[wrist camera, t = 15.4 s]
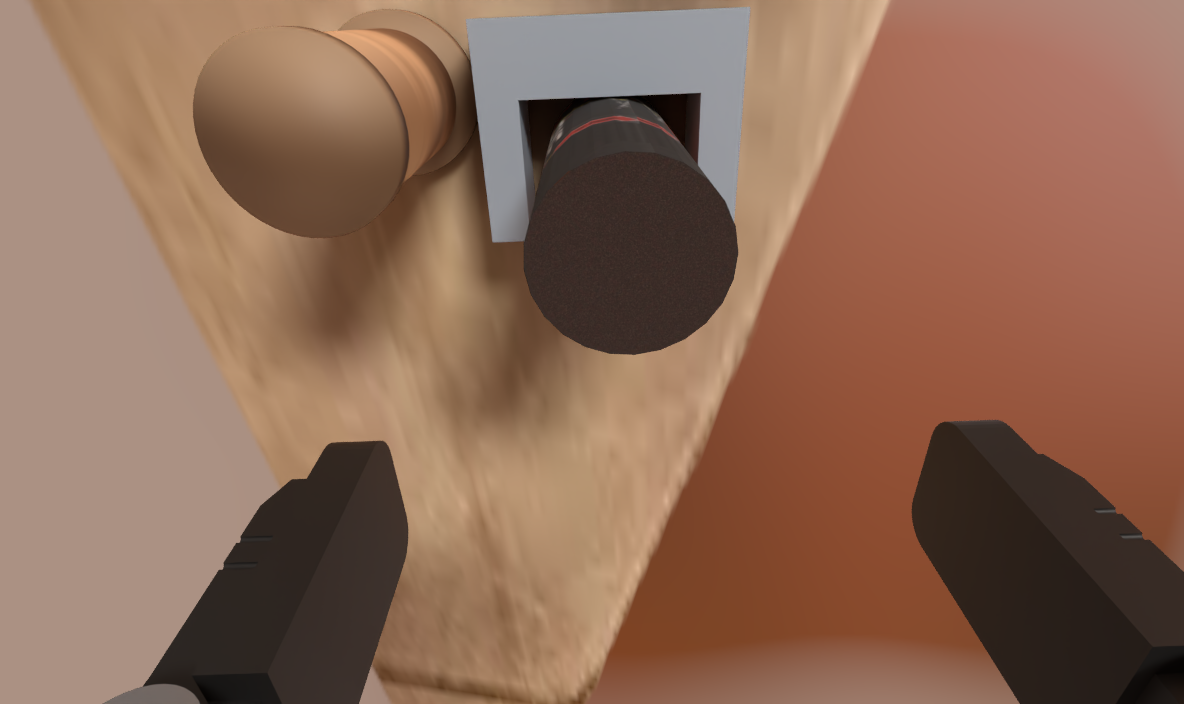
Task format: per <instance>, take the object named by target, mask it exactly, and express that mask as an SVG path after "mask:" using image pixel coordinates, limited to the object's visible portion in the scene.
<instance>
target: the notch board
mask: <svg viewBox="0 0 1184 704" xmlns="http://www.w3.org/2000/svg"><path fill="white" fill-rule="evenodd" d="M749 18H750V7H737V8H714V9H690V10H667V11H643V12H620V13H596V14H573V15H549V16H526V17H502V18H479V19H466V25H467V33H468V41H469V50H470V58H471V66H472V75H473V83H474V91H475V100H476V108H477V116H478V125H479V133H480V142H481V150H482V158H483V167H484V175H485V183H486V192H487V200H488V208H489V217H490V225H491V234H492V242H517V241H524V240H525V237H526V233H527V229H528V225H529V221H530V217H531V213H532V209H533V205H534V201H535V186H534V174H533V161H532V149H531V137H530V125H529V113H528V100H537V99H562V98H586V97H610V96H635V95H659V94H684V93H687V102H686V131H685V149H686V150H687V152H688V153H689V154H690V156H691V157H692V158H693V159H694V161H695V162H696V163H697V165H698V166H699V167H700V169H701V170H702V171H703V173H704V174H705V175H706V176H707V178H708V179H709V180H710V182H711V183H712V184H713V186H714V187H715V188H716V190H717V191H718V192H719V193H720V195H721V196H722V197H723V199H724V200H725V202H726V204H727V206H728V209H729V211H730V214H731V216H732V219H733V221H734V216H735V203H736V190H737V176H738V163H739V150H740V137H741V124H742V110H743V97H744V84H745V71H746V57H747V44H748V31H749Z"/></svg>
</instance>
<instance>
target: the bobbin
mask: <svg viewBox="0 0 1184 704" xmlns="http://www.w3.org/2000/svg"><path fill="white" fill-rule="evenodd" d="M193 118H194V125H195V132H196V135H197V139H198V143H199V146H200V148H201V151H202V153H203V156H204V158H205V160H206V162H207V164H208V166H209V168H210V170H211V172H212V173H213V175H214V176H215V178H216V179H217V181H218V182H219V184H220V185H221V186H222V187H223V188H224V190H225V191H226V192H227V193H228V194H229V195H230V196H231V197H232V198H233V199H234V200H235V201H236V202H237V203H238V204H239V205H240V206H241V207H242V208H244V209H245V210H246V211H247V212H249V213H250V214H251V215H253V216H254V217H256V218H257V219H259V220H260V221H262V222H264V223H266V224H268V225H270V226H272V227H274V228H276V229H279V230H281V231H284V232H286V233H290V234H294V235H298V236H303V237H310V238H329V237H337V236H341V235H345V234H349V233H351V232H354V231H356V230H358V229H360V228H362V227H364V226H365V225H367V224H368V223H370V222H371V221H372V220H373V219H375V218H376V217H377V216H378V215H379V214H380V213H381V212H382V211H383V210H384V209H385V208H386V207H387V206H388V205H389V204H390V203H391V202H392V201H393V199H394V198H395V196H396V195H397V193H398V192H399V190H400V188H401V186H402V184H403V183H404V182H405V181H406V180H407V179H408V178H410V177H411V176H413V175H422V174H426V173H430V172H432V171H435V170H437V169H440V168H441V167H443V166H445V165H446V164H448V163H449V162H450V161H451V160H453V159H454V158H455V157H456V156H457V155H458V154H459V153H460V151H461V150H462V149H463V148H464V147H465V146H466V144H467V143H468V141H469V140H470V138H471V136H472V134H473V132H474V129H475V126H476V123H477V118H478V116H477V108H476V100H475V91H474V83H473V75H472V66H471V64H470V61H469V59H468V58H467V56H466V54H465V52H464V51H463V49H462V48H461V47H460V45H459V44H458V43H457V41H456V40H455V39H454V38H453V37H452V36H451V35H450V34H449V33H448V32H447V31H446V30H444V29H443V28H442V27H441V26H439V25H438V24H436V23H435V22H433V21H432V20H430V19H428V18H426V17H424V16H422V15H419V14H416V13H413V12H409V11H403V10H388V9H382V10H374V11H369V12H366V13H362V14H360V15H358V16H356V17H354V18H352V19H351V20H349V21H348V22H346V23H345V24H344V25H343V26H342V27H341V28H340V29H339V30H338V31H328V32H321V31H318V30H315V29H310V28H304V27H295V26H277V27H264V28H256V29H252V30H249V31H245V32H242V33H240V34H238V35H236V36H234V37H232V38H230V39H229V40H227V41H226V42H224V43H223V44H222V45H220V46H219V47H218V48H217V49H216V50H215V51H214V52H213V53H212V54H211V56H210V57H209V59H208V60H207V62H206V63H205V65H204V66H203V69H202V71H201V73H200V75H199V77H198V81H197V84H196V88H195V93H194V101H193Z"/></svg>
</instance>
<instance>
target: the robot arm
mask: <svg viewBox="0 0 1184 704" xmlns="http://www.w3.org/2000/svg"><path fill="white" fill-rule="evenodd" d="M912 520H913V526H914V529H915V533H916V536H917V538H918V541H919V543H920V545H921V547H922V548H923V550H924V551H925V553H926V555H927V556H928V558H929V559H930V561H931V562H932V564H933V566H934V567H935V569H936V571H937V572H938V574H939V575H940V577H941V578H942V580H943V582H944V583H945V585H946V586H947V588H948V590H949V591H950V593H951V594H952V596H953V598H954V599H955V601H956V602H957V604H958V606H959V607H960V609H961V610H962V612H963V614H964V615H965V617H966V618H967V620H968V622H969V623H970V625H971V626H972V628H973V630H974V631H975V633H976V634H977V636H978V637H979V639H980V641H981V642H982V644H983V646H984V647H985V649H986V650H987V652H988V653H989V655H990V657H991V658H992V660H993V662H994V663H995V665H996V666H997V668H998V670H999V671H1000V673H1001V674H1002V676H1003V678H1004V679H1005V681H1006V682H1007V684H1008V685H1009V687H1010V689H1011V690H1012V692H1013V694H1014V695H1015V697H1016V698H1017V700H1018V701H1019V703H1020V704H1184V572H1183V571H1182V570H1181V569H1180V568H1179V567H1178V566H1177V565H1176V564H1175V563H1174V562H1173V561H1171V560H1170V559H1169V558H1168V557H1167V556H1166V555H1165V554H1164V553H1163V552H1162V551H1161V550H1160V549H1159V548H1158V547H1157V546H1156V545H1154V544H1153V543H1152V542H1151V541H1150V540H1144V539H1143V537H1142V532H1141V531H1140V530H1138V529H1137V528H1136V527H1135V526H1134V525H1133V524H1132V523H1131V522H1130V521H1129V520H1128V519H1127V518H1126V517H1125V516H1124V515H1123V514H1117V513H1116V511H1115V507H1114V506H1113V505H1112V504H1111V503H1110V502H1109V501H1108V500H1107V499H1106V498H1105V497H1103V496H1102V495H1101V494H1100V493H1099V492H1098V491H1097V490H1096V489H1095V488H1094V487H1093V486H1092V485H1091V484H1090V483H1088V482H1087V481H1086V480H1085V479H1084V478H1083V477H1081V476H1079V475H1078V474H1076V473H1074V472H1073V471H1071V470H1069V469H1068V468H1066V467H1064V466H1062V465H1061V464H1059V463H1057V462H1056V461H1054V460H1052V459H1050V458H1049V457H1047V456H1045V455H1044V454H1037V453H1036V452H1035V451H1034V450H1033V449H1032V448H1031V447H1030V446H1029V445H1028V444H1027V443H1026V442H1025V441H1024V440H1023V439H1022V438H1021V437H1020V436H1019V435H1018V434H1017V433H1016V432H1015V431H1014V430H1013V429H1012V428H1011V427H1010V426H1008V425H1007V424H1006V423H1004V422H1002V421H999V420H980V421H954V422H943V423H940V424H939V425H938V426H937V427H936V428H935V430H934V432H933V434H932V437H931V440H930V444H929V447H928V451H927V454H926V457H925V461H924V465H923V468H922V471H921V475H920V478H919V481H918V485H917V488H916V492H915V495H914V498H913V503H912ZM407 546H408V522H407V516H406V512H405V508H404V504H403V500H402V496H401V492H400V488H399V484H398V480H397V476H396V472H395V468H394V464H393V460H392V456H391V452H390V449H389V447H388V445H387V444H386V443H385V442H384V441H363V442H336V443H330V444H328V445H327V446H326V448H325V449H324V450H323V452H322V454H321V455H320V457H319V459H318V461H317V462H316V464H315V466H314V467H313V469H312V471H311V473H310V474H309V476H308V478H307V479H292V480H291V481H289V482H288V483H287V484H286V485H285V486H283V487H282V488H281V489H280V490H279V491H277V492H276V493H275V494H274V495H273V496H272V497H270V498H269V499H268V500H267V501H266V502H264V503H263V504H262V505H261V506H260V507H259V509H258V510H257V512H256V514H255V515H254V517H253V518H252V520H251V521H250V523H249V524H248V526H247V527H246V529H245V531H244V532H243V534H242V535H241V541H240V543H236V545H235V546H234V548H233V549H232V551H231V552H230V554H229V555H228V557H227V558H226V560H225V561H224V568H223V570H219V571H218V572H217V574H216V575H215V577H214V579H213V580H212V582H211V583H210V585H209V586H208V588H207V589H206V591H205V592H204V594H203V595H202V597H201V599H200V600H199V602H198V603H197V605H196V606H195V608H194V609H193V611H192V613H191V614H190V616H189V617H188V619H187V620H186V622H185V623H184V625H183V626H182V628H181V629H180V631H179V633H178V634H177V636H176V637H175V639H174V640H173V642H172V643H171V645H170V646H169V648H168V650H167V651H166V653H165V654H164V656H163V657H162V659H161V660H160V662H159V664H158V665H157V667H156V668H155V670H154V671H153V673H152V674H151V676H150V677H149V679H148V680H147V681H146V683H145V684H144V686H143V687H140V688H137V689H134V690H131V691H128V692H126V693H123V694H121V695H119V696H117V697H114V698H112V699H110V700H109V701H107V702H105V703H103V704H359V701H360V698H361V695H362V692H363V689H364V686H365V683H366V680H367V676H368V673H369V670H370V667H371V664H372V661H373V658H374V655H375V652H376V649H377V646H378V642H379V639H380V636H381V633H382V630H383V627H384V624H385V621H386V618H387V615H388V611H389V608H390V605H391V602H392V599H393V596H394V593H395V590H396V587H397V584H398V580H399V577H400V574H401V571H402V568H403V565H404V562H405V558H406V553H407Z"/></svg>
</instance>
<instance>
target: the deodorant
mask: <svg viewBox="0 0 1184 704" xmlns="http://www.w3.org/2000/svg"><path fill="white" fill-rule="evenodd" d="M737 257H738V245H737V235H736V226H735V224H734V221H733V219H732V216H731V214H730V211H729V209H728V206H727V204H726V202H725V200H724V199H723V197H722V196H721V195H720V193H719V192H718V191H717V190H716V188H715V187H714V186H713V184H712V183H711V182H710V180H709V179H708V178H707V176H706V175H705V174H704V173H703V171H702V170H701V169H700V167H699V166H698V165H697V163H696V162H695V161H694V159H693V158H692V157H691V156H690V154H689V153H688V152H687V150H686V149H685V148H684V146H683V145H682V144H681V143H680V141H679V140H678V139H677V137H676V136H675V135H674V133H673V132H672V131H671V129H670V128H669V127H668V126H667V124H666V123H665V122H664V120H663V119H662V118H661V116H660V115H659V114H658V113H657V111H656V110H655V109H654V108H653V106H652V105H651V104H649V103H648V102H647V101H645V100H644V99H643V98H641V97H640V96H638V95H635V96H610V97H586V98H578V99H576V100H574V101H573V102H572V103H571V104H570V105H569V106H568V107H567V108H566V109H565V110H564V111H563V112H562V114H561V115H560V117H559V119H558V120H557V122H556V124H555V125H554V128H553V132H552V135H551V139H550V142H549V146H548V150H547V154H546V158H545V162H544V166H543V170H542V174H541V178H540V182H539V186H538V190H537V193H536V197H535V201H534V205H533V209H532V213H531V217H530V221H529V225H528V229H527V233H526V237H525V240H524V272H525V275H526V279H527V282H528V286H529V289H530V293H531V295H532V297H533V299H534V300H535V302H536V304H537V305H538V307H539V309H540V310H541V312H542V313H543V315H544V317H545V318H546V319H548V320H549V321H550V322H551V323H552V324H553V325H554V326H555V327H556V328H557V329H558V330H559V331H560V332H561V333H562V334H563V335H565V336H567V337H569V338H570V339H572V340H574V341H576V342H577V343H579V344H581V345H583V346H585V347H588V348H591V349H595V350H598V351H602V352H606V353H609V354H632V355H636V354H641V353H646V352H652V351H657V350H661V349H664V348H666V347H668V346H670V345H673V344H675V343H677V342H679V341H682V340H684V339H686V338H687V337H688V336H690V335H691V334H692V333H694V332H695V331H696V330H698V329H699V328H700V327H702V326H703V325H704V324H706V322H707V321H708V320H709V319H710V318H711V316H712V315H713V314H714V313H715V312H716V310H717V309H718V308H719V307H720V305H721V304H722V303H723V301H724V299H725V297H726V294H727V292H728V290H729V288H730V286H731V284H732V282H733V280H734V274H735V269H736V263H737Z"/></svg>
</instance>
